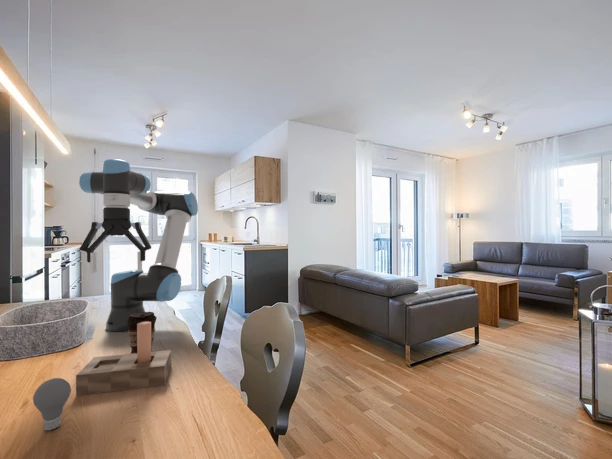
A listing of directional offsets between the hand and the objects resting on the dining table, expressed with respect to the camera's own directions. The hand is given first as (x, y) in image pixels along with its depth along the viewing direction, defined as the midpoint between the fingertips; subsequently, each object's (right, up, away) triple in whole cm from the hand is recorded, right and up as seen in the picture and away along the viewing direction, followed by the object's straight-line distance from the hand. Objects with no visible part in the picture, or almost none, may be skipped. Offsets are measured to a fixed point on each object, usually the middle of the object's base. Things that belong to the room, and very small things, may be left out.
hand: (117, 271), depth 102 cm
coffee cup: (+8, -27, -1) cm, 28 cm away
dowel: (+18, -26, -17) cm, 36 cm away
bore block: (+14, -27, -18) cm, 35 cm away
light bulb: (+10, -27, -39) cm, 48 cm away
